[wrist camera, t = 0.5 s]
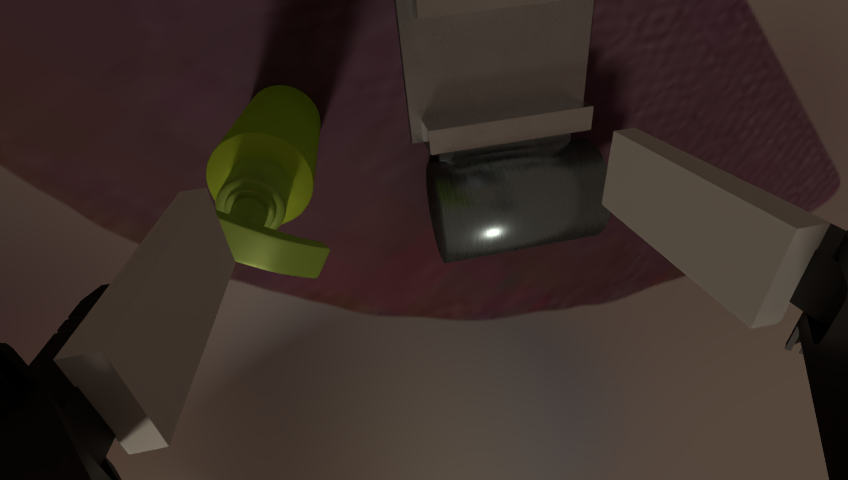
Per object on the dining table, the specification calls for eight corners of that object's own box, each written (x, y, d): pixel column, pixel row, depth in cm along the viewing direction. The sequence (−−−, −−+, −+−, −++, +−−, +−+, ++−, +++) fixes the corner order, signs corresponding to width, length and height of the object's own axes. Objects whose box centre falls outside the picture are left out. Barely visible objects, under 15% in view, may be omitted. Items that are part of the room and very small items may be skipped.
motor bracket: (392, -14, 32) (409, -13, 24) (614, -40, 33) (695, -47, 26) (421, 233, 43) (439, 285, 36) (585, 204, 45) (635, 248, 38)
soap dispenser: (318, 168, 38) (303, 314, 21) (239, 138, 35) (150, 277, 19) (342, 108, 36) (346, 219, 19) (259, 72, 33) (179, 161, 16)
